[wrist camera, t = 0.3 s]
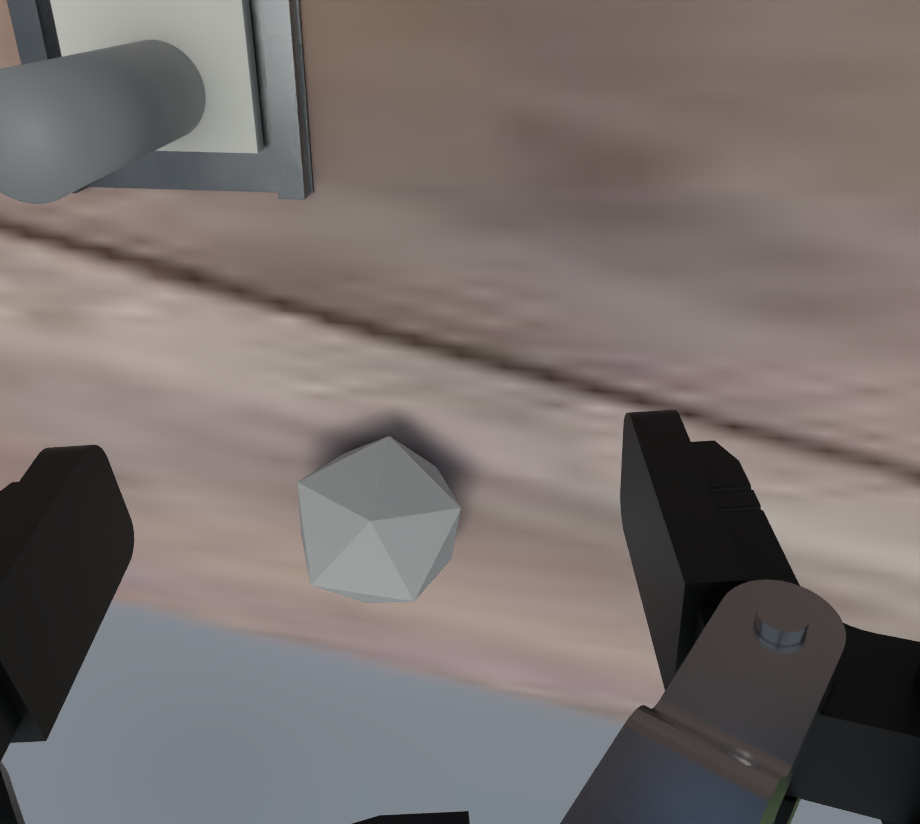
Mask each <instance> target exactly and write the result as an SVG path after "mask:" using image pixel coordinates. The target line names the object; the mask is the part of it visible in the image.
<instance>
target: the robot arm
mask: <svg viewBox="0 0 920 824" xmlns="http://www.w3.org/2000/svg"><path fill="white" fill-rule="evenodd" d="M620 503H621V516H622V524H623V530H624V534H625V538H626V542H627V546H628V550H629V554H630V558H631V561H632V565H633V569H634V573H635V577H636V581H637V584H638V588H639V592H640V596H641V600H642V604H643V608H644V611H645V615H646V619H647V623H648V627H649V631H650V634H651V638H652V642H653V646H654V650H655V654H656V658H657V661H658V665H659V669H660V673H661V677H662V681H663V684H664V688H665V692H664V694H663V695H662V697H661V699H660V700H659V702H658V703H657V704H656V706H655V707H654V708H652V709H651V708H649V707H647V706H644V705H643V706H640V707H639V708H637V709H636V710H635V711H634V712H633V713H632V714H631V716H630V717H629V718H628V720H627V721H626V723H625V724H624V726H623V727H622V729H621V730H620V732H619V733H618V735H617V737H616V738H615V740H614V741H613V743H612V744H611V746H610V747H609V749H608V750H607V752H606V753H605V755H604V757H603V758H602V760H601V761H600V763H599V764H598V766H597V768H596V769H595V770H594V772H593V774H592V775H591V777H590V778H589V780H588V781H587V783H586V785H585V786H584V788H583V789H582V791H581V792H580V794H579V795H578V797H577V798H576V800H575V801H574V803H573V805H572V806H571V808H570V809H569V811H568V812H567V814H566V816H565V817H564V818H563V820H562V822H561V823H560V824H790V823H791V821H792V818H793V816H794V814H795V812H796V809H797V807H798V804H799V802H800V800H801V799H804V800H808V801H811V802H815V803H819V804H823V805H827V806H831V807H834V808H838V809H842V810H846V811H850V812H854V813H858V814H861V815H866V816H869V817H873V818H877V819H881V821H882V824H920V642H917V641H912V640H907V639H902V638H897V637H892V636H887V635H881V634H876V633H872V632H868V631H864V630H860V629H858V628H855V627H852V626H849V625H847V624H845V623H843V622H842V620H841V618H840V616H839V615H838V613H837V612H836V611H835V609H834V608H833V607H832V606H831V605H830V604H829V603H828V602H827V601H825V600H824V599H823V598H821V597H820V596H819V595H817V594H815V593H814V592H812V591H810V590H808V589H806V588H804V587H801V586H800V585H799V583H798V581H797V579H796V577H795V575H794V573H793V571H792V569H791V567H790V565H789V563H788V561H787V559H786V557H785V554H784V552H783V550H782V548H781V546H780V544H779V542H778V540H777V538H776V536H775V534H774V532H773V530H772V528H771V526H770V524H769V522H768V520H767V517H766V515H765V513H764V511H763V510H761V508H760V506H761V505H760V503H759V501H758V499H757V497H756V495H755V493H754V491H753V490H751V485H750V483H749V480H748V478H747V476H746V474H745V472H744V470H743V468H742V466H741V464H740V462H739V461H738V460H737V459H736V458H735V457H734V456H732V455H731V454H730V453H729V452H728V451H726V450H725V449H724V448H723V447H722V446H720V445H719V444H718V443H717V442H716V441H700V442H690V439H689V437H688V434H687V432H686V430H685V427H684V425H683V422H682V420H681V418H680V415H679V413H678V412H677V411H676V410H663V411H648V412H632V413H626V415H625V418H624V427H623V448H622V468H621V489H620ZM133 547H134V530H133V524H132V521H131V518H130V515H129V512H128V510H127V507H126V505H125V502H124V499H123V497H122V494H121V492H120V489H119V486H118V484H117V481H116V479H115V476H114V474H113V471H112V468H111V466H110V463H109V461H108V458H107V456H106V454H105V452H104V451H103V449H102V448H101V447H99V446H97V445H84V446H68V447H53V448H46V449H44V450H42V451H41V452H40V453H39V454H38V456H37V457H36V459H35V460H34V461H33V463H32V464H31V466H30V467H29V469H28V470H27V471H26V473H25V474H24V476H23V477H22V478H21V480H20V481H19V482H12V483H10V484H9V485H8V486H7V487H5V488H4V489H3V490H1V491H0V824H25V822H24V819H23V816H22V813H21V810H20V807H19V804H18V801H17V798H16V795H15V792H14V789H13V786H12V783H11V780H10V777H9V774H8V772H7V770H6V768H5V766H4V765H3V763H2V762H1V760H2V758H3V755H4V754H5V752H6V750H7V748H8V746H9V744H10V743H15V742H35V741H46V740H47V738H48V736H49V734H50V732H51V730H52V727H53V725H54V723H55V721H56V719H57V717H58V714H59V712H60V710H61V708H62V706H63V704H64V702H65V700H66V697H67V695H68V693H69V691H70V689H71V687H72V685H73V682H74V680H75V678H76V676H77V674H78V672H79V669H80V667H81V665H82V663H83V661H84V659H85V657H86V655H87V652H88V650H89V648H90V646H91V644H92V642H93V640H94V638H95V635H96V633H97V631H98V628H99V626H100V624H101V622H102V620H103V618H104V616H105V614H106V612H107V610H108V608H109V605H110V603H111V601H112V599H113V597H114V595H115V593H116V590H117V588H118V586H119V584H120V582H121V580H122V578H123V575H124V573H125V571H126V569H127V567H128V565H129V563H130V560H131V557H132V553H133ZM353 824H470V822H469V813H468V811H465V812H444V813H423V814H401V815H380V816H377V817H373V818H370V819H367V820H363V821H360V822H356V823H353Z"/></svg>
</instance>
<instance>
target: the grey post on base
mask: <svg viewBox="0 0 920 824" xmlns="http://www.w3.org/2000/svg"><path fill="white" fill-rule="evenodd" d="M50 2H51V7H52V11H53V16H54V21H55V26H56V31H57V36H58V41H59V45H60V50H61V55H62V57H58V58H53V59H48V60H43V61H38V62H33V63H28V64H23V65H18V66H13V67H8V68H3V69H0V192H1V193H3V194H4V195H6V196H8V197H10V198H13V199H16V200H18V201H22V202H26V203H34V204H42V203H49V202H53V201H56V200H59V199H61V198H63V197H65V196H67V195H69V194H71V193H73V192H74V191H76V190H78V189H80V188H82V187H84V186H86V185H88V184H90V183H92V182H94V181H96V180H98V179H100V178H102V177H104V176H106V175H108V174H110V173H112V172H114V171H116V170H118V169H120V168H122V167H124V166H126V165H128V164H130V163H132V162H134V161H136V160H138V159H140V158H142V157H143V156H145V155H147V154H149V153H151V152H153V151H183V152H222V153H259V152H260V151H262V150H263V149H264V143H263V133H262V123H261V113H260V103H259V94H258V84H257V74H256V64H255V54H254V44H253V34H252V24H251V14H250V4H249V0H50Z"/></svg>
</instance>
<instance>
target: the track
mask: <svg viewBox="0 0 920 824" xmlns="http://www.w3.org/2000/svg"><path fill="white" fill-rule="evenodd" d="M7 3H8V7H9V12H10V16H11V20H12V25H13V29H14V34H15V38H16V42H17V47H18V51H19V55H20V60H21V64H22V65H23V64H28V63H33V62H38V61H43V60H48V59H53V58H58V57H62V55H61V50H60V45H59V41H58V36H57V31H56V26H55V21H54V16H53V11H52V7H51V2H50V0H7ZM249 4H250V14H251V24H252V34H253V44H254V54H255V64H256V74H257V84H258V94H259V103H260V113H261V123H262V133H263V143H264V149H263V150H262V151H260V152H259V153H222V152H183V151H153V152H151V153H149V154H147V155H145V156H143V157H142V158H140V159H138V160H136V161H134V162H132V163H130V164H128V165H126V166H124V167H122V168H120V169H118V170H116V171H114V172H112V173H110V174H108V175H106V176H104V177H102V178H100V179H98V180H96V181H94V182H92V183H90V184H88V185H86V186H84V187H82V188H80V189H78V190H76V191H74V192H73V193H77V192H79V191H81V190H83V189H85V188H87V187H112V188H148V189H183V190H218V191H254V192H278V199H300V200H305V199H306V198H307V197H308V195H309V194H310V193H313V192H314V188H313V175H312V161H311V148H310V134H309V121H308V108H307V94H306V81H305V67H304V54H303V40H302V27H301V14H300V0H249Z"/></svg>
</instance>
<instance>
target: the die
mask: <svg viewBox="0 0 920 824" xmlns="http://www.w3.org/2000/svg"><path fill="white" fill-rule="evenodd" d="M297 485H298V498H299V510H300V523H301V536H302V541H303V546H304V551H305V557H306V562H307V567H308V573H309V578H310V583H311V586H315V587H318V588H321V589H324V590H327V591H330V592H334V593H337V594H340V595H343V596H346V597H350V598H353V599H356V600H359V601H362V602H366V603H382V602H414V601H415V600H416V599H417V598H418V596H419V595H420V594H421V593H422V592H423V591H424V590H425V588H426V587H427V586H428V585H429V584H430V583H431V582H432V580H433V579H434V578H435V577H436V576H437V575H438V573H439V572H440V571H441V570H442V569H443V568H444V567H445V565H446V564H447V563H448V562H449V561H450V560H451V557H452V552H453V547H454V542H455V536H456V531H457V526H458V521H459V516H460V511H461V507H460V505H459V504H458V502H457V500H456V499H455V497H454V495H453V494H452V492H451V490H450V489H449V487H448V485H447V483H446V482H445V480H444V478H443V477H442V475H441V473H440V472H439V470H438V468H437V467H436V466H434V465H433V464H431V463H430V462H428V461H427V460H425V459H424V458H422V457H421V456H419V455H418V454H416V453H415V452H413V451H412V450H410V449H409V448H407V447H405V446H404V445H402V444H401V443H399V442H398V441H396V440H395V439H393V438H392V437H390V436H388V437H385V438H383V439H380V440H377V441H375V442H372V443H369V444H367V445H364V446H361V447H359V448H356V449H353V450H351V451H348V452H346V453H344V454H342V455H341V456H339V457H337V458H336V459H334V460H332V461H331V462H329V463H328V464H326V465H324V466H323V467H321V468H319V469H318V470H316V471H315V472H313V473H311V474H310V475H308V476H306V477H305V478H303V479H301V480H300V481H298V482H297Z"/></svg>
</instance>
